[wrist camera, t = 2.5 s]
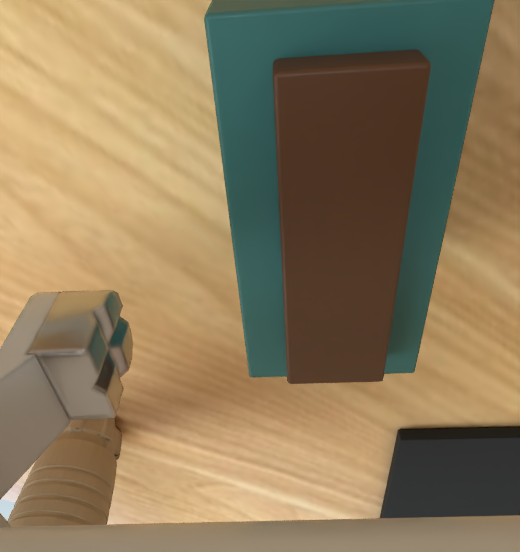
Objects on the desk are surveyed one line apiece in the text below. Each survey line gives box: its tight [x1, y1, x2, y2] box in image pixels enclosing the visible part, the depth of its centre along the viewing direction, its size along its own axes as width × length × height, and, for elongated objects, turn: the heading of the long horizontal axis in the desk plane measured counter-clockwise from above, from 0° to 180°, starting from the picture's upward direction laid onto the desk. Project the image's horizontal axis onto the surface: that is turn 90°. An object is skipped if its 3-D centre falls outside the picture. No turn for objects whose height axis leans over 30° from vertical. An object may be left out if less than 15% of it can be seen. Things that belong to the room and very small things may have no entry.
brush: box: [204, 0, 494, 384], centre depth 12 cm, size 4×9×6 cm, turn 4°
